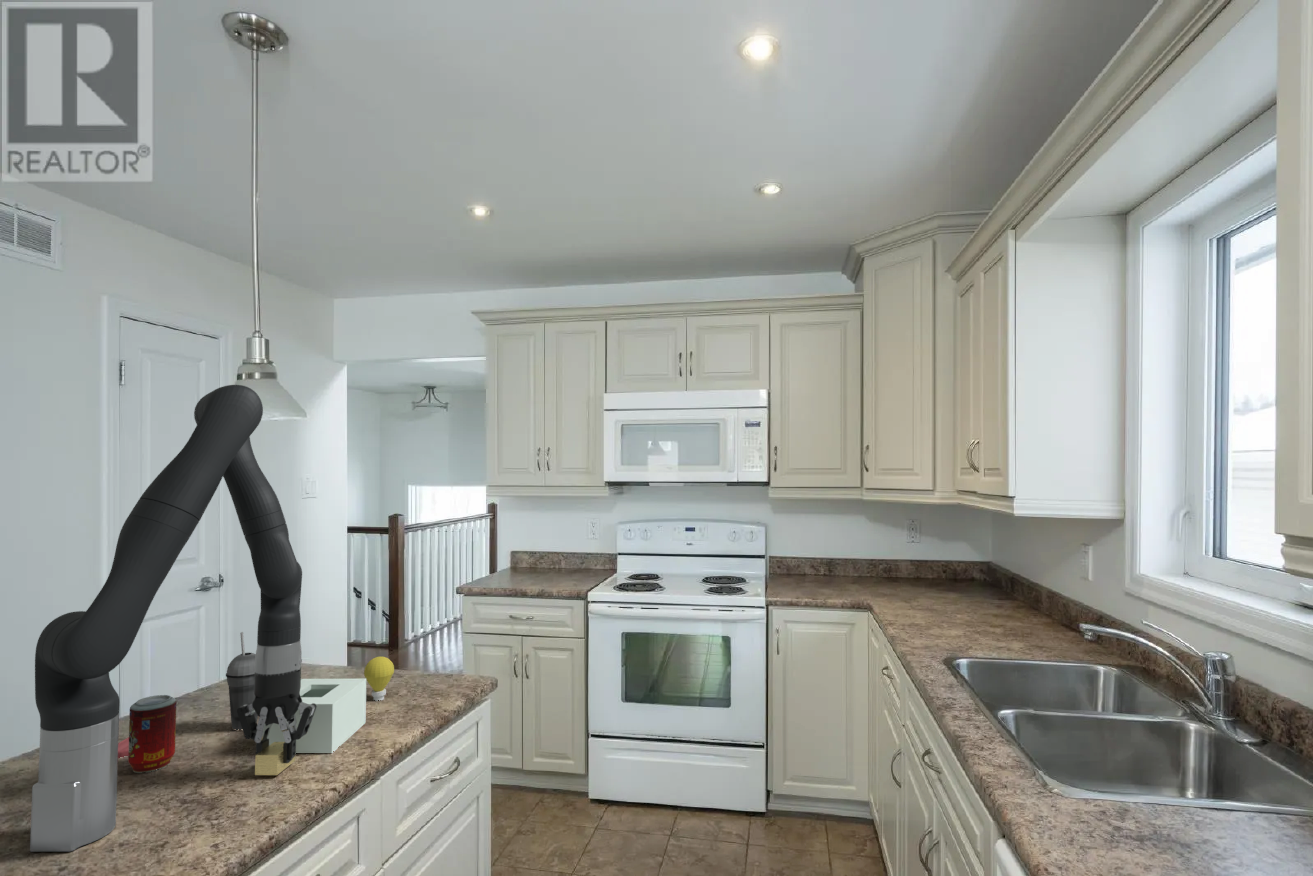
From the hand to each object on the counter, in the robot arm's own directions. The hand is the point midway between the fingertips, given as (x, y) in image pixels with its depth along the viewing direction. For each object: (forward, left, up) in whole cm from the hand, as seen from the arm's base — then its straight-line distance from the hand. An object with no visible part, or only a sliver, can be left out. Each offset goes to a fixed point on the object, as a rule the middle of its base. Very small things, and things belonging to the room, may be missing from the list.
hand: (275, 761), depth 125 cm
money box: (+15, 0, -2) cm, 15 cm away
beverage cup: (+21, +18, -2) cm, 28 cm away
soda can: (+2, +24, -2) cm, 24 cm away
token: (0, 0, -1) cm, 1 cm away
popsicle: (+13, +34, -2) cm, 37 cm away
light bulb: (+38, -4, -2) cm, 39 cm away
